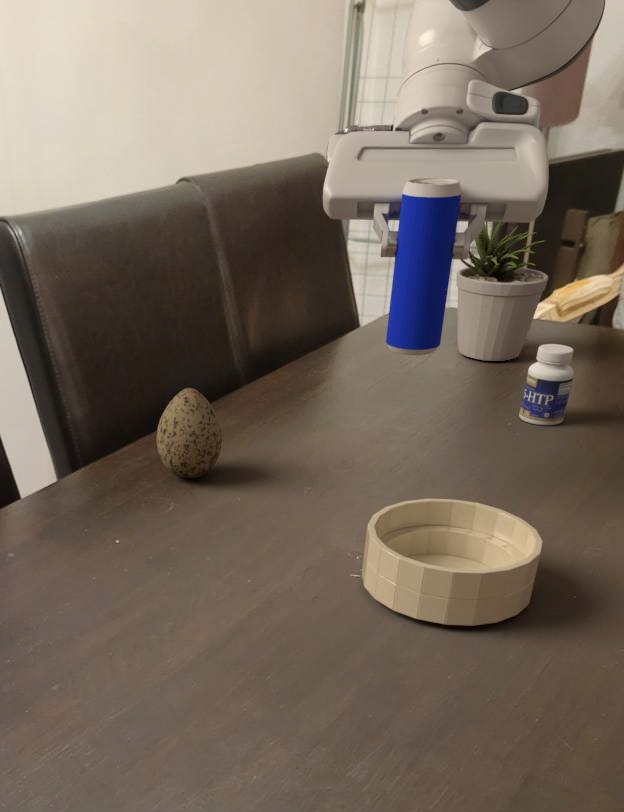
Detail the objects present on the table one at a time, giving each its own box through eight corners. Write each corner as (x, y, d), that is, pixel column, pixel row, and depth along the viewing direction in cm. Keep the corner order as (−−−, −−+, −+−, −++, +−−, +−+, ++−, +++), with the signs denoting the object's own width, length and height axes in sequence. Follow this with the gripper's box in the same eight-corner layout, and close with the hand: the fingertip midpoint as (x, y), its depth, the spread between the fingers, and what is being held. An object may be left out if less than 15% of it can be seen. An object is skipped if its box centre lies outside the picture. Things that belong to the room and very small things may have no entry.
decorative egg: (232, 481, 105) (235, 392, 100) (174, 493, 103) (173, 403, 97) (202, 460, 111) (204, 374, 105) (146, 470, 108) (145, 383, 103)
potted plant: (509, 340, 151) (535, 201, 140) (546, 365, 139) (577, 216, 128) (431, 342, 150) (451, 204, 139) (461, 368, 139) (485, 219, 128)
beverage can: (446, 346, 94) (471, 179, 86) (427, 359, 91) (451, 186, 83) (397, 339, 97) (416, 176, 89) (376, 351, 93) (394, 183, 85)
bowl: (509, 554, 90) (520, 500, 87) (547, 635, 78) (562, 575, 75) (355, 550, 91) (361, 496, 88) (369, 628, 79) (377, 569, 76)
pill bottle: (510, 419, 120) (524, 348, 116) (532, 409, 123) (546, 339, 119) (549, 429, 117) (565, 356, 112) (571, 419, 120) (587, 348, 115)
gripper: (329, 102, 91) (310, 230, 88) (559, 99, 86) (546, 235, 83) (330, 149, 97) (312, 271, 94) (545, 150, 92) (532, 278, 89)
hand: (424, 254), depth 89 cm, fingers closed on beverage can, 5 cm apart
